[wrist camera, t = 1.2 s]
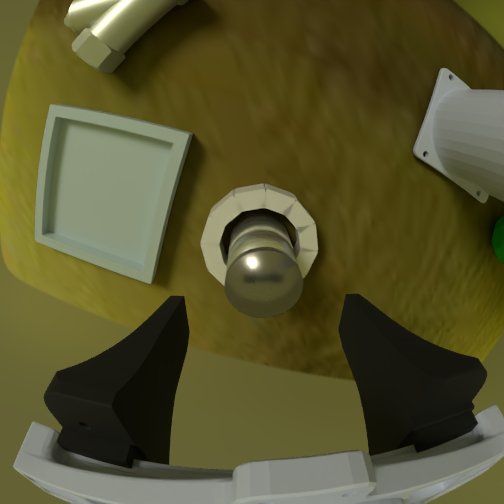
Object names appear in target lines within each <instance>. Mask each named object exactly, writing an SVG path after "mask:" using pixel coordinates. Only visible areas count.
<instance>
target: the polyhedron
mask: <svg viewBox="0 0 504 504" xmlns="http://www.w3.org/2000/svg"><path fill="white" fill-rule="evenodd" d="M492 246H493V250H494V253H495V255H496V257H497V258H498V259H499V260H500V261H501V262H502V263H503V264H504V215H503V216H502V217H501V218H500V219H499V220H498V221H497V222H496V224H495V228H494V232H493V237H492Z"/></svg>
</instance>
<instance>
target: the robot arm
mask: <svg viewBox="0 0 504 504" xmlns="http://www.w3.org/2000/svg"><path fill="white" fill-rule="evenodd" d="M449 76H450V77H451V80H450V79H449ZM424 151H425V153H426V155H425V157H423V152H424ZM413 153H414V155H415V156H416V157H418V158H419V159H421V160H422V161H424V162H425V163H427V164H428V165H430V166H431V167H433V168H434V169H436V170H437V171H439V172H440V173H442V174H443V175H445V176H446V177H447V178H449V179H450V180H452V181H453V182H454V183H456V184H457V185H459V186H460V187H461V188H463V189H464V190H465V191H467V192H468V193H469V194H470V195H472V196H473V197H474V198H476V199H477V200H478V201H479V202H481V203H485V202H486V201H487V199H488V196H489V195H491V196H493V197H495V198H497V199H499V200H501V201H503V202H504V90H472V89H470V88H469V87H468V86H467V85H466V84H465V83H464V82H463V81H461V80H460V79H459V78H458V77H457V76H456V75H454V74H453V73H452V72H451V71H449V70H448V69H447V68H442V69H440V71H439V75H438V78H437V81H436V85H435V88H434V91H433V94H432V98H431V101H430V104H429V107H428V110H427V113H426V115H425V118H424V121H423V124H422V127H421V129H420V132H419V135H418V138H417V140H416V143H415V145H414V148H413ZM477 191H478V193H477ZM189 332H190V331H189V325H188V319H187V312H186V305H185V298H184V296H170V297H169V298H168V299H167V300H166V301H165V302H164V303H163V304H162V305H161V306H160V307H159V308H158V309H157V310H156V311H155V312H154V313H153V314H152V315H151V316H150V317H149V318H148V319H147V320H146V321H145V322H144V323H143V324H142V325H140V326H139V327H138V328H137V329H136V330H135V331H134V332H132V333H131V334H130V335H129V336H127V337H126V338H125V339H123V340H122V341H120V342H119V343H117V344H116V345H114V346H113V347H111V348H109V349H108V350H106V351H104V352H103V353H101V354H99V355H97V356H96V357H93V358H91V359H89V360H87V361H85V362H82V363H80V364H78V365H75V366H72V367H69V368H66V369H63V370H60V371H57V373H56V374H55V376H54V377H53V379H52V381H51V383H50V385H49V387H48V388H47V390H46V392H45V394H44V401H45V404H46V406H47V407H48V409H49V410H50V412H51V413H52V414H53V416H54V417H55V418H56V419H57V421H58V422H59V423H60V424H61V426H63V428H62V430H61V433H59V432H58V431H56V430H55V429H52V428H50V427H47V426H44V425H42V424H39V423H37V422H32V425H31V427H30V429H29V431H28V433H27V435H26V438H25V439H24V442H23V444H22V446H21V449H20V451H19V453H18V456H17V458H16V460H15V463H14V466H13V467H14V469H16V470H17V471H18V472H19V473H21V474H22V475H23V476H25V477H26V478H27V479H29V480H30V481H31V482H33V483H34V484H35V485H37V486H38V487H40V488H41V489H42V490H44V491H45V492H47V493H49V494H51V495H53V496H56V497H58V498H60V499H62V500H65V501H67V502H69V503H71V504H425V503H427V502H429V501H431V500H433V499H435V498H438V497H440V496H441V495H444V494H446V493H448V492H450V491H451V490H453V489H455V488H457V487H459V486H461V485H463V484H465V483H466V482H468V481H470V480H472V479H473V478H475V477H477V476H479V475H480V474H482V473H484V472H485V471H487V470H488V469H489V468H490V467H491V466H493V465H494V464H495V463H496V462H498V461H499V460H500V459H501V458H502V457H503V456H504V417H503V416H502V414H501V412H500V410H499V409H498V407H497V405H492V406H490V407H488V408H486V409H484V410H482V411H480V412H478V413H477V414H476V415H475V416H474V414H473V413H472V410H473V409H474V405H473V403H472V400H473V399H474V397H475V396H476V395H477V393H478V392H479V390H480V389H481V388H482V386H483V384H484V383H485V380H486V377H487V371H486V370H485V368H484V367H483V365H482V364H481V362H480V361H479V359H478V358H475V357H471V356H467V355H463V354H459V353H456V352H453V351H450V350H447V349H444V348H442V347H439V346H437V345H435V344H433V343H430V342H428V341H426V340H424V339H422V338H420V337H419V336H417V335H415V334H413V333H412V332H410V331H408V330H407V329H405V328H404V327H402V326H401V325H399V324H398V323H396V322H395V321H393V320H392V319H391V318H389V317H388V316H387V315H385V314H384V313H383V312H382V311H380V310H379V309H378V308H376V307H375V306H374V305H373V304H371V303H370V302H369V301H368V300H366V299H365V298H364V297H362V296H361V295H359V294H346V296H345V301H344V306H343V311H342V316H341V320H340V325H339V334H340V338H341V343H342V347H343V350H344V352H345V355H346V358H347V360H348V363H349V365H350V368H351V371H352V373H353V376H354V379H355V381H356V384H357V387H358V390H359V394H360V398H361V403H362V407H363V412H364V418H365V424H366V430H367V438H368V447H369V453H366V452H363V451H360V450H351V451H342V452H336V453H328V454H321V455H313V456H303V457H292V458H278V459H264V460H255V461H250V462H247V463H244V464H241V465H239V466H238V467H236V469H235V470H221V469H220V470H219V469H203V468H191V467H182V466H173V465H169V451H170V435H171V425H172V415H173V407H174V400H175V394H176V389H177V385H178V382H179V378H180V374H181V371H182V367H183V363H184V359H185V355H186V352H187V347H188V339H189Z"/></svg>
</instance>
